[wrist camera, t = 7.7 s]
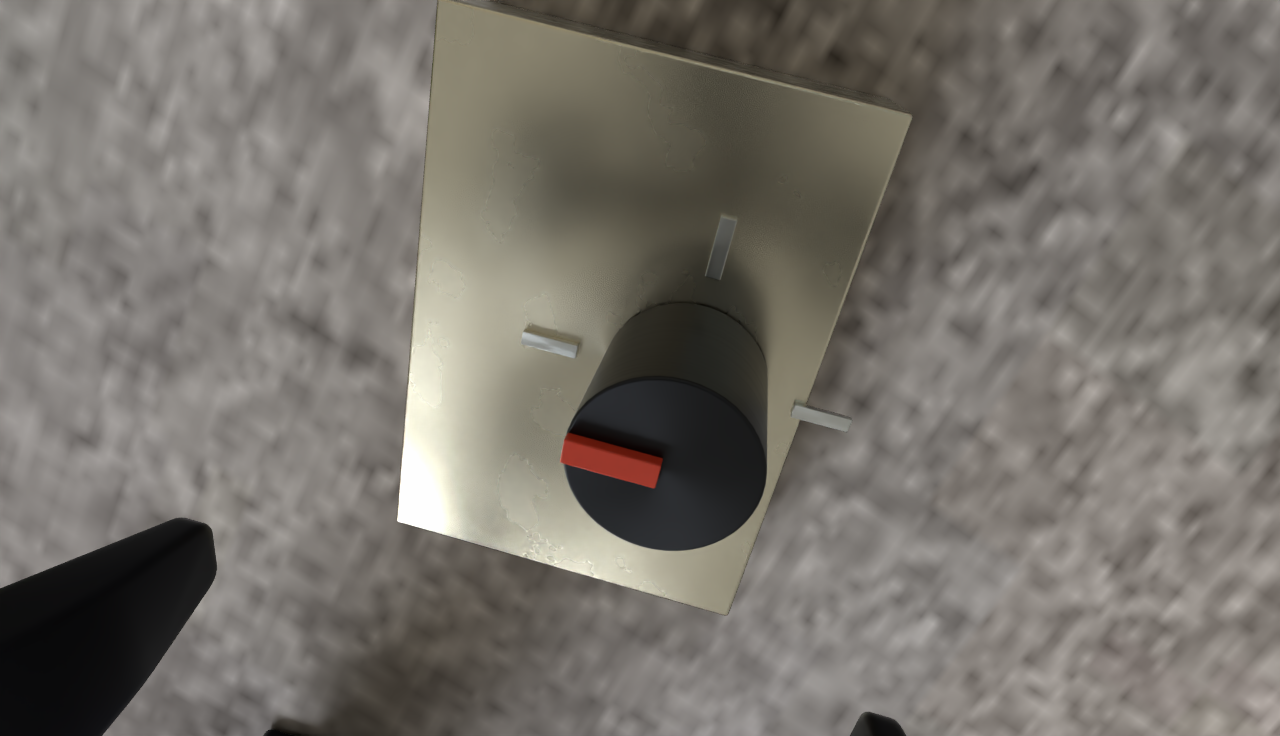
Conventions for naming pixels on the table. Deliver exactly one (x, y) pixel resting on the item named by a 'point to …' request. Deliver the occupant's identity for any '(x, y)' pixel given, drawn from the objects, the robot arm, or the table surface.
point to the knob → (672, 430)
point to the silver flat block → (614, 263)
